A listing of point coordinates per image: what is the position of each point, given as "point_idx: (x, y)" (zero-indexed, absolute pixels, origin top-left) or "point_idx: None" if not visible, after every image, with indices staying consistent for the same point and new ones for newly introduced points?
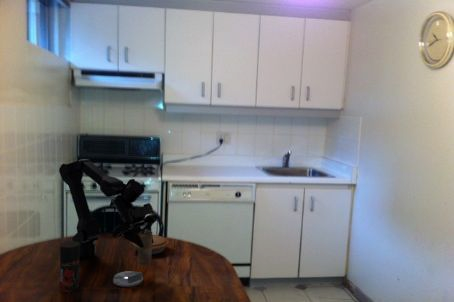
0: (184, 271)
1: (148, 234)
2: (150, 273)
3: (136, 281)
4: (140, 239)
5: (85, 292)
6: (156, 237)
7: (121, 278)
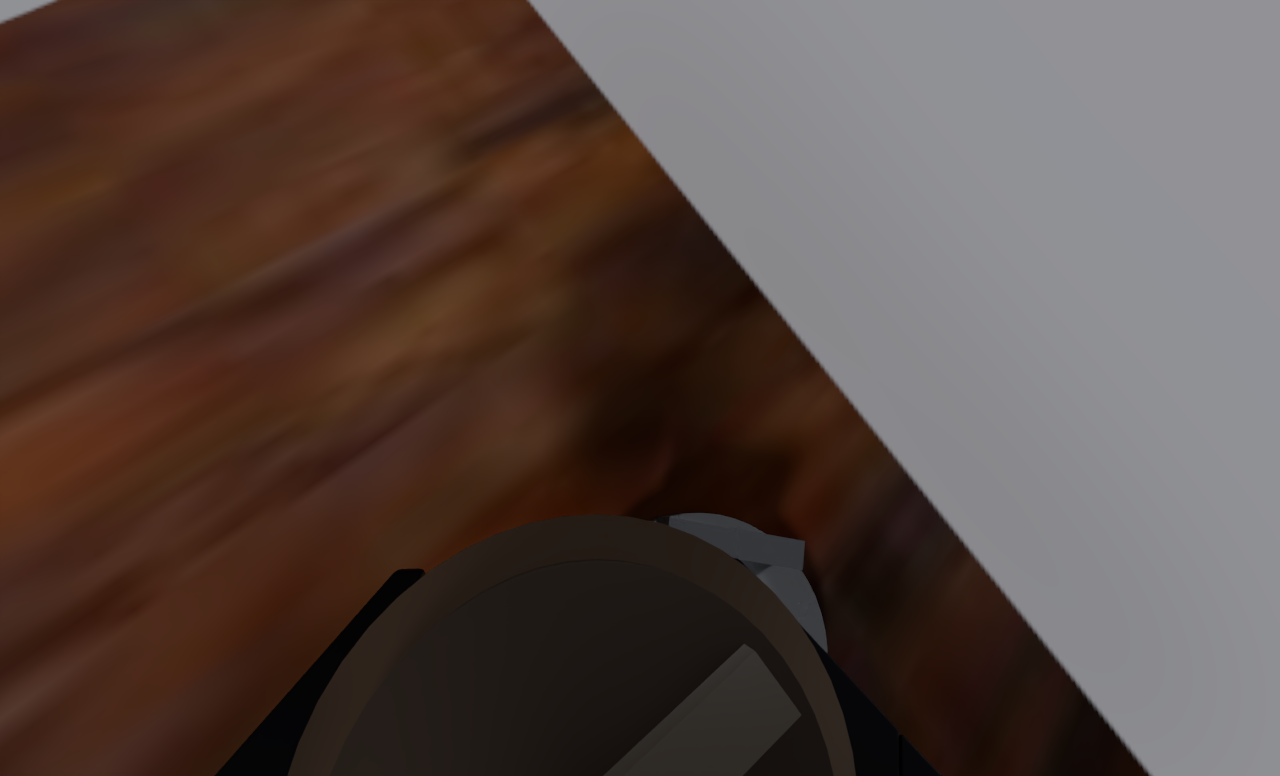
0: (232, 358)
1: (683, 533)
2: None
3: (716, 520)
4: None
5: (1033, 741)
6: None
7: None
